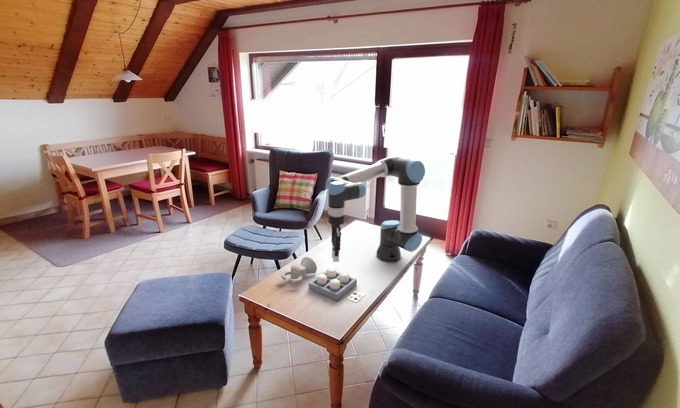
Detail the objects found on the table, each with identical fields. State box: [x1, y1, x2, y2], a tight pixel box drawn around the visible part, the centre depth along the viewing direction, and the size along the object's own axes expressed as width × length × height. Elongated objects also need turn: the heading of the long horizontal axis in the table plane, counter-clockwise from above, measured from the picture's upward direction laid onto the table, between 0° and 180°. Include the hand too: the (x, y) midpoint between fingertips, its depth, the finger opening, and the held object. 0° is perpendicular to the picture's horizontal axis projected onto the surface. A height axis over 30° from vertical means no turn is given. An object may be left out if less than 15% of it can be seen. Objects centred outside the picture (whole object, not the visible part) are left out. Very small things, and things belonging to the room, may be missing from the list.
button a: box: [330, 279, 340, 292], centre depth 171 cm, size 5×5×4 cm
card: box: [345, 290, 365, 304], centre depth 171 cm, size 8×6×1 cm
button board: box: [308, 271, 358, 303], centre depth 178 cm, size 18×18×4 cm
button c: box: [339, 271, 350, 284], centre depth 178 cm, size 5×5×4 cm
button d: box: [326, 267, 337, 279], centre depth 182 cm, size 5×5×4 cm
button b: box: [316, 273, 327, 286], centre depth 176 cm, size 5×5×4 cm
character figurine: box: [280, 256, 318, 284], centre depth 185 cm, size 13×9×20 cm
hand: (335, 259), depth 167 cm, fingers open, 3 cm apart
